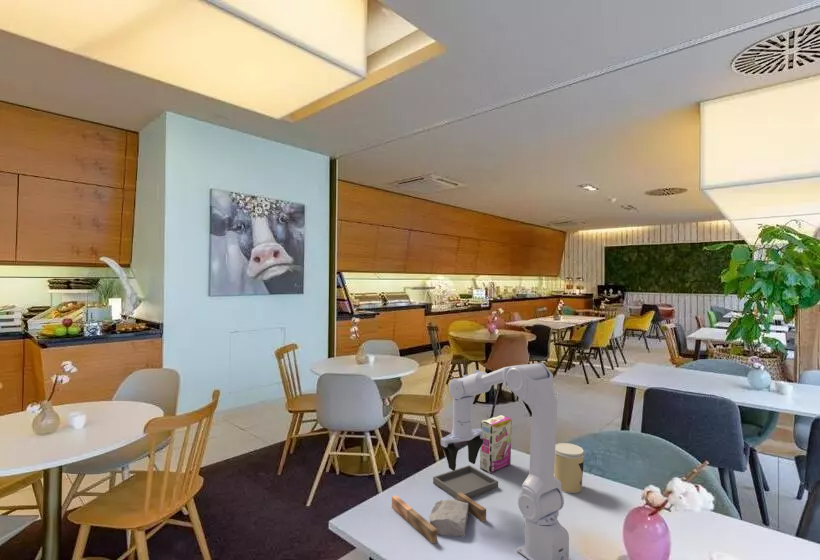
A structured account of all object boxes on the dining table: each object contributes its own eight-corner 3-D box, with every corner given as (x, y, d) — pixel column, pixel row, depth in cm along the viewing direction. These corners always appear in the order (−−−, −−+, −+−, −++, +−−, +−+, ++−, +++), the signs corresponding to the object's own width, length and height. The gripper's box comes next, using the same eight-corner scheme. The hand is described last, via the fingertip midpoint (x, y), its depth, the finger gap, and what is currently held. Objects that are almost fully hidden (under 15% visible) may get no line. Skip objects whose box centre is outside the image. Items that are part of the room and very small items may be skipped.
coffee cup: (587, 496, 123) (588, 455, 123) (555, 493, 125) (555, 453, 125) (580, 480, 132) (580, 443, 132) (549, 478, 134) (550, 441, 134)
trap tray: (498, 487, 127) (498, 481, 127) (460, 502, 119) (460, 495, 119) (469, 471, 138) (469, 465, 138) (433, 483, 130) (433, 476, 130)
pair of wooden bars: (486, 520, 110) (486, 508, 110) (432, 543, 100) (432, 531, 100) (442, 489, 126) (442, 479, 126) (391, 507, 116) (391, 496, 116)
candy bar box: (491, 474, 136) (491, 424, 136) (479, 469, 140) (479, 420, 140) (511, 464, 143) (512, 417, 143) (500, 459, 147) (500, 414, 147)
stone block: (429, 541, 105) (468, 538, 103) (425, 521, 105) (464, 518, 103) (436, 516, 116) (471, 513, 114) (432, 499, 116) (467, 495, 115)
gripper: (471, 411, 127) (471, 455, 127) (434, 419, 119) (433, 466, 119) (488, 417, 121) (487, 463, 122) (449, 427, 113) (449, 476, 113)
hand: (462, 465), depth 120 cm, fingers open, 7 cm apart
